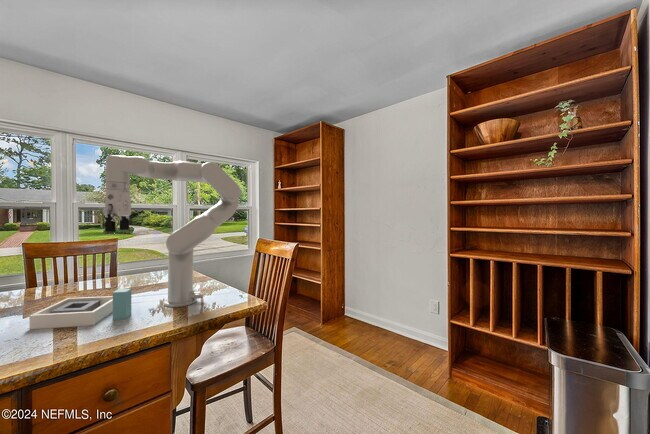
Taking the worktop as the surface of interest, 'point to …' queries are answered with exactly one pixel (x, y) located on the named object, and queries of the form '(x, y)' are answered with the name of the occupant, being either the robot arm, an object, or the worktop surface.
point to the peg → (121, 304)
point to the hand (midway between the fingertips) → (117, 230)
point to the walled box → (72, 313)
